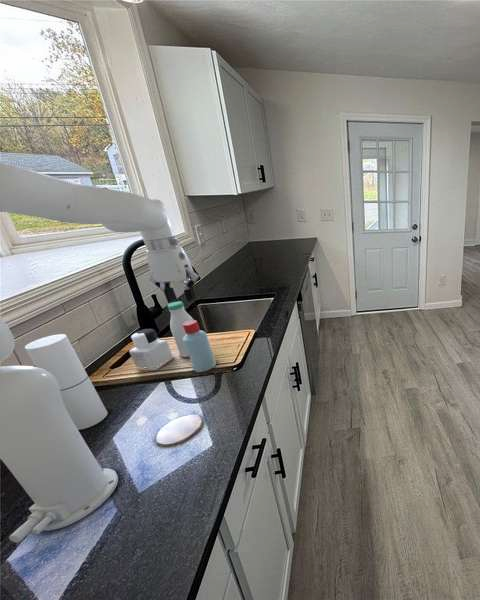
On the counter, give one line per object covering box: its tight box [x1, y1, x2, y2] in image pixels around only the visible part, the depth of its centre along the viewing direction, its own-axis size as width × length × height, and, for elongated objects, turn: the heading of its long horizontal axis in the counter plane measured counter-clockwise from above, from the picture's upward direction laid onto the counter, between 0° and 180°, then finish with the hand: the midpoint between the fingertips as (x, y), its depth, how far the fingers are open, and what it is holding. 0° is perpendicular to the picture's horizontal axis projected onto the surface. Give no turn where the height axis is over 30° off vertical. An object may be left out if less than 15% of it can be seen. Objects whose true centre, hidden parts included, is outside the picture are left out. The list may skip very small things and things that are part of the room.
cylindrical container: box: [24, 333, 109, 431], centre depth 82 cm, size 7×7×25 cm
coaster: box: [155, 414, 203, 447], centre depth 81 cm, size 10×10×1 cm
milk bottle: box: [167, 301, 194, 358], centre depth 114 cm, size 8×8×20 cm
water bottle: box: [183, 329, 217, 373], centre depth 105 cm, size 7×7×16 cm
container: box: [128, 328, 174, 371], centre depth 109 cm, size 8×8×13 cm
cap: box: [183, 319, 201, 334], centre depth 102 cm, size 4×4×3 cm
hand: (182, 300), depth 98 cm, fingers open, 5 cm apart
